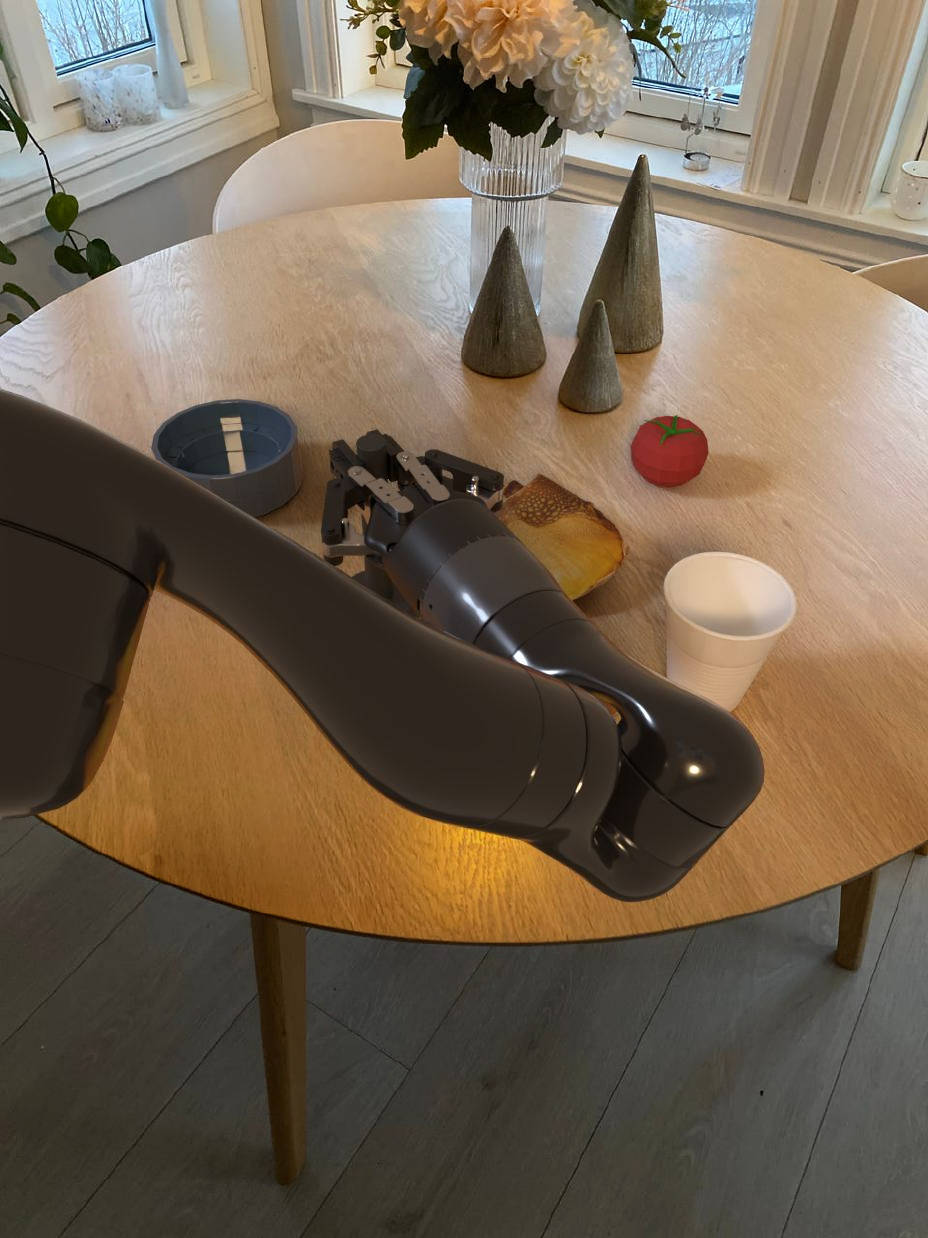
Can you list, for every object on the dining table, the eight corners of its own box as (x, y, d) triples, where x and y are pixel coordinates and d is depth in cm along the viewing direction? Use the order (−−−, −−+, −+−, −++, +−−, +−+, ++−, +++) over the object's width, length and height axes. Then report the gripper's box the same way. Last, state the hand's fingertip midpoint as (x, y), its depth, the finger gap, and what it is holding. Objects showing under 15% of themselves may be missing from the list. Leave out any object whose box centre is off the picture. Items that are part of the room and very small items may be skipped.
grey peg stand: (327, 627, 74) (308, 452, 63) (366, 581, 78) (355, 409, 67) (396, 653, 72) (388, 477, 61) (432, 604, 76) (431, 431, 65)
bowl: (141, 519, 95) (127, 469, 91) (194, 441, 105) (184, 392, 101) (278, 536, 94) (270, 486, 89) (319, 455, 104) (314, 406, 100)
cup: (779, 676, 81) (814, 578, 73) (741, 755, 75) (774, 657, 67) (669, 633, 85) (691, 535, 77) (624, 706, 78) (643, 607, 71)
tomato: (613, 483, 101) (622, 420, 95) (645, 448, 105) (656, 387, 100) (683, 509, 98) (697, 445, 92) (713, 473, 102) (728, 410, 97)
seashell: (666, 535, 88) (551, 583, 79) (638, 595, 93) (527, 647, 84) (546, 437, 95) (429, 471, 87) (526, 497, 100) (414, 535, 92)
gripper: (584, 506, 56) (440, 374, 67) (371, 581, 51) (253, 425, 62) (571, 600, 61) (440, 463, 72) (377, 677, 56) (267, 518, 67)
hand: (354, 446), depth 67 cm, fingers closed on grey peg stand
